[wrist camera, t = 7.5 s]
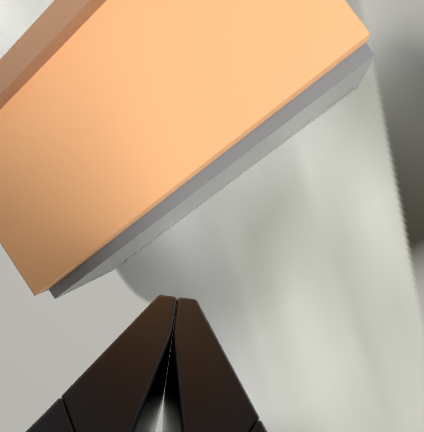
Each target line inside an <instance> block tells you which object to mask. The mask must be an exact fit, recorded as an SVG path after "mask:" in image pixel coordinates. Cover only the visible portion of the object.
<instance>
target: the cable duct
mask: <svg viewBox="0 0 424 432" xmlns="http://www.w3.org/2000/svg"><path fill="white" fill-rule="evenodd" d="M374 56H375V54H374V53H373V52H372V50H371V49H370V48H369V46H368V45H367V44H366V43H365V44H363V45H362V46H361V47H359V48H358V49H357V50H356V51H354V52H353V53H352V54H350V55H349V56H348V57H347V58H345V59H344V60H343V61H341V62H340V63H339V64H338V65H336V66H335V67H334V68H332V69H331V70H330V71H329V72H327V73H326V74H325V75H323V76H322V77H321V78H320V79H318V80H317V81H316V82H314V83H313V84H312V85H311V86H309V87H308V88H307V89H305V90H304V91H303V92H302V93H300V94H299V95H298V96H296V97H295V98H294V99H293V100H291V101H290V102H289V103H287V104H286V105H285V106H284V107H282V108H281V109H280V110H278V111H277V112H276V113H275V114H273V115H272V116H271V117H269V118H268V119H267V120H266V121H264V122H263V123H262V124H260V125H259V126H258V127H257V128H255V129H254V130H253V131H251V132H250V133H249V134H248V135H246V136H245V137H244V138H242V139H241V140H240V141H239V142H237V143H236V144H235V145H233V146H232V147H231V148H230V149H228V150H227V151H226V152H224V153H223V154H222V155H221V156H219V157H218V158H217V159H215V160H214V161H213V162H212V163H210V164H209V165H208V166H206V167H205V168H204V169H203V170H201V171H200V172H199V173H197V174H196V175H195V176H194V177H192V178H191V179H190V180H188V181H187V182H186V183H185V184H183V185H182V186H181V187H179V188H178V189H177V190H176V191H174V192H173V193H172V194H170V195H169V196H168V197H167V198H165V199H164V200H163V201H161V202H160V203H159V204H158V205H156V206H155V207H154V208H152V209H151V210H150V211H149V212H147V213H146V214H145V215H143V216H142V217H141V218H140V219H138V220H137V221H136V222H134V223H133V224H132V225H131V226H129V227H128V228H127V229H125V230H124V231H123V232H122V233H120V234H119V235H118V236H116V237H115V238H114V239H113V240H111V241H110V242H109V243H107V244H106V245H105V246H104V247H102V248H101V249H100V250H98V251H97V252H96V253H95V254H93V255H92V256H91V257H89V258H88V259H87V260H86V261H84V262H83V263H82V264H80V265H79V266H78V267H77V268H75V269H74V270H73V271H71V272H70V273H69V274H68V275H66V276H65V277H64V278H62V279H61V280H60V281H59V282H57V283H56V284H55V285H53V286H52V287H51V288H50V289H49V290H50V292H51V293H52V295H53V296H54V298H58V297H59V296H62V295H63V294H66V293H68V292H70V291H72V290H74V289H76V288H78V287H80V286H82V285H84V284H86V283H88V282H90V281H92V280H94V279H96V278H98V277H100V276H102V275H104V274H106V273H108V272H110V271H112V270H114V269H115V268H116V267H118V266H119V265H120V264H122V263H123V262H124V261H126V260H127V259H128V258H130V257H131V256H132V255H134V254H135V253H136V252H138V251H139V250H140V249H142V248H143V247H144V246H146V245H147V244H148V243H150V242H151V241H152V240H154V239H155V238H156V237H158V236H159V235H160V234H162V233H163V232H165V231H166V230H167V229H169V228H170V227H171V226H173V225H174V224H175V223H177V222H178V221H179V220H181V219H182V218H183V217H185V216H186V215H187V214H189V213H190V212H191V211H193V210H194V209H195V208H197V207H198V206H199V205H201V204H202V203H203V202H205V201H206V200H207V199H209V198H210V197H211V196H213V195H214V194H215V193H217V192H218V191H219V190H221V189H222V188H223V187H225V186H226V185H227V184H229V183H230V182H231V181H233V180H234V179H235V178H237V177H238V176H240V175H241V174H242V173H244V172H245V171H246V170H248V169H249V168H250V167H252V166H253V165H254V164H256V163H257V162H258V161H260V160H261V159H262V158H264V157H265V156H266V155H268V154H269V153H270V152H272V151H273V150H274V149H276V148H277V147H278V146H280V145H281V144H282V143H284V142H285V141H286V140H288V139H289V138H290V137H292V136H293V135H294V134H296V133H297V132H298V131H300V130H301V129H302V128H304V127H305V126H306V125H308V124H309V123H310V122H312V121H313V120H315V119H316V118H317V117H319V116H320V115H321V114H323V113H324V112H325V111H327V110H328V109H329V108H331V107H332V106H333V105H335V104H336V103H337V102H339V101H340V100H341V99H343V98H344V97H345V96H347V95H348V94H349V93H351V92H352V91H353V90H355V89H356V88H357V87H358V85H359V83H360V82H361V80H362V78H363V76H364V74H365V72H366V70H367V69H368V67H369V65H370V63H371V61H372V59H373V58H374Z"/></svg>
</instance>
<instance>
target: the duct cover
mask: <svg viewBox="0 0 424 432" xmlns="http://www.w3.org/2000/svg"><path fill="white" fill-rule="evenodd" d="M369 34H370V33H369V31H368V30H367V29H366V27H365V26H364V25H363V24H362V22H361V21H360V20H359V18H358V17H357V16H356V14H355V13H354V12H353V11H352V9H351V8H350V7H349V5H348V4H347V3H346V1H345V0H55V1H54V2H53V3H52V4H51V5H50V6H49V7H48V8H47V9H46V10H45V12H44V13H43V14H42V15H41V16H40V17H39V18H38V19H37V20H36V21H35V22H34V23H33V25H32V26H31V27H30V28H29V29H28V30H27V31H26V32H25V33H24V34H23V35H22V37H21V38H20V39H19V40H18V41H17V42H16V43H15V44H14V45H13V46H12V47H11V48H10V50H9V51H8V52H7V53H6V54H5V55H4V56H3V57H2V58H1V59H0V243H1V244H2V246H3V248H4V249H5V251H6V252H7V254H8V255H9V257H10V258H11V260H12V261H13V263H14V265H15V266H16V268H17V269H18V271H19V272H20V274H21V275H22V277H23V279H24V280H25V281H26V283H27V285H28V286H29V288H30V289H31V291H32V292H33V294H34V295H37V294H40V293H42V292H44V291H47V290H48V289H50V288H51V287H52V286H53V285H55V284H56V283H57V282H59V281H60V280H61V279H62V278H64V277H65V276H66V275H68V274H69V273H70V272H71V271H73V270H74V269H75V268H77V267H78V266H79V265H80V264H82V263H83V262H84V261H86V260H87V259H88V258H89V257H91V256H92V255H93V254H95V253H96V252H97V251H98V250H100V249H101V248H102V247H104V246H105V245H106V244H107V243H109V242H110V241H111V240H113V239H114V238H115V237H116V236H118V235H119V234H120V233H122V232H123V231H124V230H125V229H127V228H128V227H129V226H131V225H132V224H133V223H134V222H136V221H137V220H138V219H140V218H141V217H142V216H143V215H145V214H146V213H147V212H149V211H150V210H151V209H152V208H154V207H155V206H156V205H158V204H159V203H160V202H161V201H163V200H164V199H165V198H167V197H168V196H169V195H170V194H172V193H173V192H174V191H176V190H177V189H178V188H179V187H181V186H182V185H183V184H185V183H186V182H187V181H188V180H190V179H191V178H192V177H194V176H195V175H196V174H197V173H199V172H200V171H201V170H203V169H204V168H205V167H206V166H208V165H209V164H210V163H212V162H213V161H214V160H215V159H217V158H218V157H219V156H221V155H222V154H223V153H224V152H226V151H227V150H228V149H230V148H231V147H232V146H233V145H235V144H236V143H237V142H239V141H240V140H241V139H242V138H244V137H245V136H246V135H248V134H249V133H250V132H251V131H253V130H254V129H255V128H257V127H258V126H259V125H260V124H262V123H263V122H264V121H266V120H267V119H268V118H269V117H271V116H272V115H273V114H275V113H276V112H277V111H278V110H280V109H281V108H282V107H284V106H285V105H286V104H287V103H289V102H290V101H291V100H293V99H294V98H295V97H296V96H298V95H299V94H300V93H302V92H303V91H304V90H305V89H307V88H308V87H309V86H311V85H312V84H313V83H314V82H316V81H317V80H318V79H320V78H321V77H322V76H323V75H325V74H326V73H327V72H329V71H330V70H331V69H332V68H334V67H335V66H336V65H338V64H339V63H340V62H341V61H343V60H344V59H345V58H347V57H348V56H349V55H350V54H352V53H353V52H354V51H356V50H357V49H358V48H359V47H361V46H362V45H363V44H365V43H366V42H367V39H368V37H369Z"/></svg>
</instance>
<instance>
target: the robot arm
mask: <svg viewBox="0 0 424 432" xmlns="http://www.w3.org/2000/svg"><path fill="white" fill-rule="evenodd" d="M176 305H177V307H176ZM175 313H176V314H175ZM174 320H175V321H174ZM173 327H174V328H173ZM172 334H173V335H172ZM171 341H172V343H171ZM170 348H171V350H170ZM169 355H170V357H169ZM168 362H169V364H168ZM167 369H168V371H167ZM166 376H167V378H166ZM165 383H166V385H165ZM164 390H165V393H164ZM163 396H164V403H163V404H164V405H163V432H267V431H266V429H265V427H264V425H263V423H262V421H260V420H259V416H258V414H257V412H256V410H255V408H254V407H253V405H252V403H251V401H250V399H249V397H248V395H247V394H246V392H245V390H244V388H243V386H242V384H241V382H240V380H239V379H238V377H237V375H236V373H235V371H234V369H233V367H232V365H231V364H230V362H229V360H228V358H227V356H226V354H225V352H224V351H223V349H222V347H221V345H220V343H219V341H218V339H217V337H216V336H215V334H214V332H213V330H212V328H211V326H210V324H209V322H208V321H207V319H206V317H205V315H204V313H203V311H202V309H201V307H200V306H199V304H198V302H197V301H196V300H195V299H188V298H179V299H178V301H177V298H176V297H172V296H165V295H159V296H158V297H157V298H156V299H155V300H154V301H153V302H152V303H151V304H150V305H149V306H148V307H147V308H146V309H145V310H144V311H143V312H142V313H141V314H140V315H139V316H138V317H137V318H136V319H135V321H133V323H132V324H131V325H130V326H129V327H128V328H127V329H126V330H125V331H124V332H123V333H122V334H121V335H120V336H119V337H118V338H117V339H116V340H115V341H114V342H113V343H112V344H111V345H110V346H109V347H108V348H107V349H106V350H105V352H104V353H103V354H102V355H101V356H100V357H99V358H98V359H97V360H96V361H95V362H94V363H93V364H92V365H91V366H90V367H89V368H88V369H87V370H86V371H85V372H84V373H83V375H81V376H80V377H79V378H78V379H77V380H76V382H75V383H74V384H73V385H72V386H71V387H70V388H69V389H68V390H67V391H66V392H65V393H64V394H63V395H62V397H61V399H58V400H57V401H56V402H55V403H54V404H53V405H52V406H51V407H50V408H49V409H48V410H47V411H46V412H45V413H44V414H43V415H42V416H41V417H40V418H39V419H38V420H37V421H36V422H35V423H34V424H33V425H32V426H31V427H30V428H29V429H28V430H27V431H26V432H155V429H156V425H157V421H158V418H159V414H160V410H161V406H162V401H163Z"/></svg>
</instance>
